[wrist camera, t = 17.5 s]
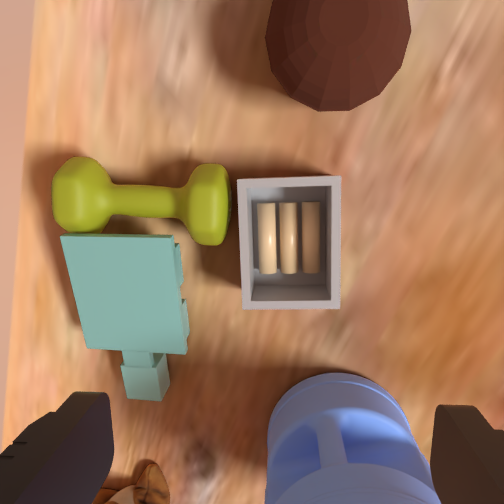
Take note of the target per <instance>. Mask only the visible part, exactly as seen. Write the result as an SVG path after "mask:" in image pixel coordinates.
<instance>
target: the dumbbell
mask: <svg viewBox="0 0 504 504" xmlns="http://www.w3.org/2000/svg"><path fill="white" fill-rule="evenodd" d="M51 199H52V212H53V216H54V219H55V221H56V222H57V223H58V224H59V225H60V226H61V227H62V228H63V229H65V230H66V231H67V232H69V233H77V234H100V233H101V232H102V231H103V229H104V228H105V226H106V225H107V223H108V222H109V220H110V218H111V216H112V215H114V214H121V215H128V216H136V217H146V218H178V219H180V220H181V221H182V222H183V223H184V224H185V226H186V228H187V230H188V232H189V234H190V235H191V237H192V239H193V240H194V241H195V242H197V243H199V244H202V245H219V244H221V243H222V242H223V241H224V239H225V237H226V235H227V232H228V227H229V223H230V218H231V211H232V191H231V184H230V180H229V176H228V173H227V171H226V169H225V168H224V167H223V166H222V165H220V164H213V163H205V164H201V165H199V166H197V167H196V168H195V169H194V171H193V172H192V174H191V176H190V178H189V180H188V182H187V184H186V185H185V186H183V187H181V188H171V187H164V186H152V185H116V184H114V183H112V180H111V178H110V176H109V175H108V173H107V172H106V170H105V169H104V168H103V167H102V166H101V165H100V164H99V163H98V162H97V161H96V160H94V159H92V158H89V157H72V158H70V159H68V160H67V161H66V162H65V163H64V164H63V165H62V166H61V167H60V169H59V170H58V171H57V172H56V173H55V175H54V177H53V179H52V186H51Z"/></svg>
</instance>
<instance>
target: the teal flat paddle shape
mask: <svg viewBox="0 0 504 504" xmlns="http://www.w3.org/2000/svg"><path fill="white" fill-rule="evenodd" d="M60 240H61V244H62V248H63V252H64V256H65V260H66V264H67V268H68V272H69V277H70V281H71V285H72V289H73V293H74V297H75V301H76V305H77V309H78V313H79V318H80V322H81V326H82V330H83V334H84V338H85V342H86V346H87V348H90V349H105V350H121V351H122V355H123V360H124V361H123V362H122V364H121V365H120V367H121V371H122V376H123V381H124V386H125V391H126V395H127V399H138V400H150V401H162V400H163V398H164V396H165V394H166V392H167V390H168V388H169V386H170V378H169V371H168V364H167V358H166V353H168V354H183V355H185V354H186V352H187V350H188V348H187V340H186V339H187V337H188V335H189V333H190V329H189V321H188V312H187V304H186V299H181V292H180V286H181V284H182V283H183V282H184V279H183V271H182V262H181V254H180V246H179V243H174V236H173V235H145V234H77V233H64V234H63V235H61V236H60Z"/></svg>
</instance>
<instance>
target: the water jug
mask: <svg viewBox="0 0 504 504" xmlns="http://www.w3.org/2000/svg"><path fill="white" fill-rule="evenodd" d="M267 448H268V462H267V485H266V490H265V504H441V502H440V500H439V498H438V496H437V494H436V491H435V489H434V486H433V482H432V477H431V470H430V465H429V463H428V462H427V460H426V458H425V457H424V455H423V454H422V453H421V452H420V450H419V448H418V445H417V443H416V441H415V439H414V437H413V435H412V433H411V430H410V426H409V423H408V421H407V418H406V416H405V415H404V413H403V411H402V409H401V407H400V406H399V404H398V403H397V402H396V400H395V399H394V398H393V397H392V396H391V395H390V394H389V393H388V392H387V391H386V390H385V389H383V388H382V387H381V386H379V385H378V384H376V383H374V382H372V381H370V380H368V379H366V378H363V377H360V376H357V375H353V374H347V373H326V374H320V375H316V376H313V377H310V378H307V379H305V380H303V381H301V382H299V383H298V384H296V385H295V386H293V387H292V388H291V389H289V390H288V391H287V392H286V393H285V394H284V395H283V396H282V397H281V399H280V400H279V401H278V403H277V404H276V406H275V408H274V410H273V412H272V415H271V417H270V421H269V426H268V436H267Z"/></svg>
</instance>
